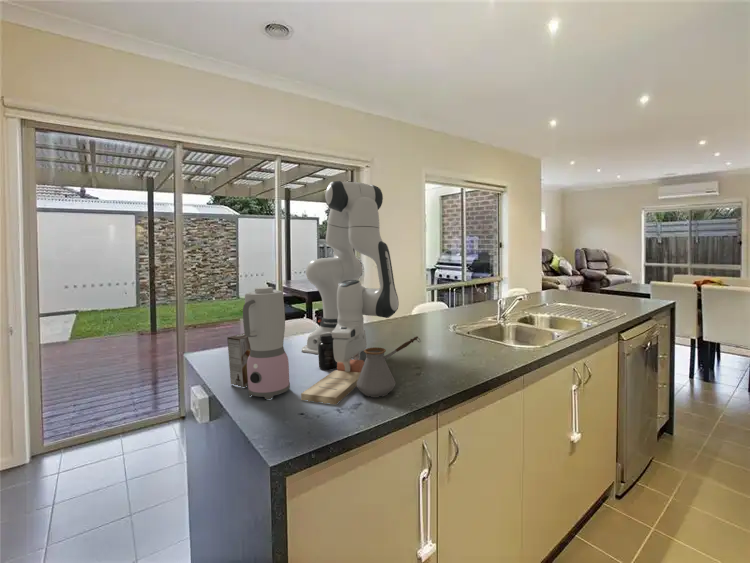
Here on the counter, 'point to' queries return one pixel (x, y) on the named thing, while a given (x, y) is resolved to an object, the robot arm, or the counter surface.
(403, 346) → the coffee pot
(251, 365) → the blender
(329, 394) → the maple board
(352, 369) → the block
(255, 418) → the counter surface
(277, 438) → the counter surface
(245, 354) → the coffee box
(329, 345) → the supplement bottle
